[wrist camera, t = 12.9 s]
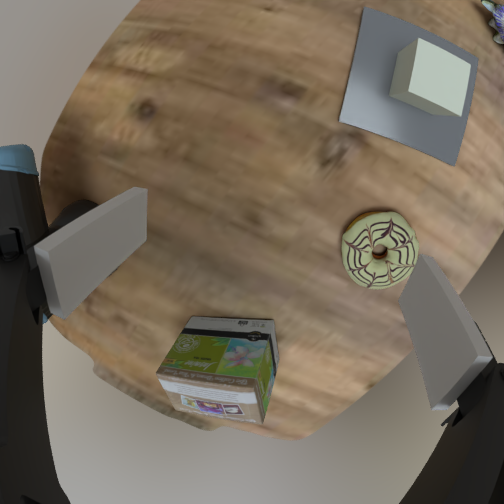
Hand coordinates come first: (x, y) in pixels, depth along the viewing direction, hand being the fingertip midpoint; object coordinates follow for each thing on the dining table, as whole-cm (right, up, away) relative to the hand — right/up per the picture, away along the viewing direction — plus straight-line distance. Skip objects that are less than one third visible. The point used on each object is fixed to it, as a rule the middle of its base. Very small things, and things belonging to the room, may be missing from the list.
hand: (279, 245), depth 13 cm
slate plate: (+18, +20, +14) cm, 30 cm away
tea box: (-4, -15, +38) cm, 41 cm away
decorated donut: (+16, +1, +25) cm, 29 cm away
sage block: (+18, +19, +13) cm, 29 cm away
